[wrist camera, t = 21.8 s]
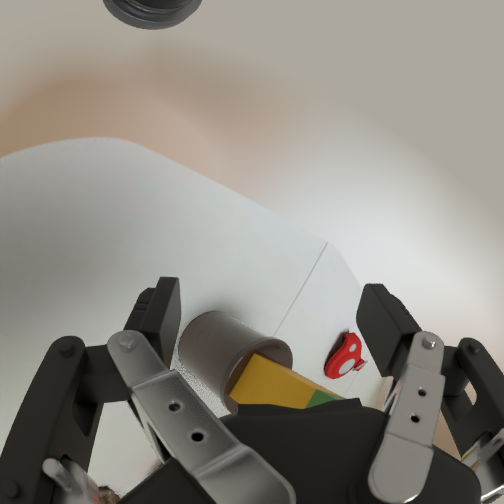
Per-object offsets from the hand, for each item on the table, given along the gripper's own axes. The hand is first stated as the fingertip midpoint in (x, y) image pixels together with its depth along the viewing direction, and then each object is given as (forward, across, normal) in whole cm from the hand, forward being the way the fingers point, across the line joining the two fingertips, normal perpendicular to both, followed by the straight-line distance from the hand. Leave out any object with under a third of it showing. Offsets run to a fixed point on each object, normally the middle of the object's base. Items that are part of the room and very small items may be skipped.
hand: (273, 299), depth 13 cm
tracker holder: (+30, -20, +34) cm, 49 cm away
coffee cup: (+16, +4, +17) cm, 23 cm away
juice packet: (+8, -1, +15) cm, 17 cm away
